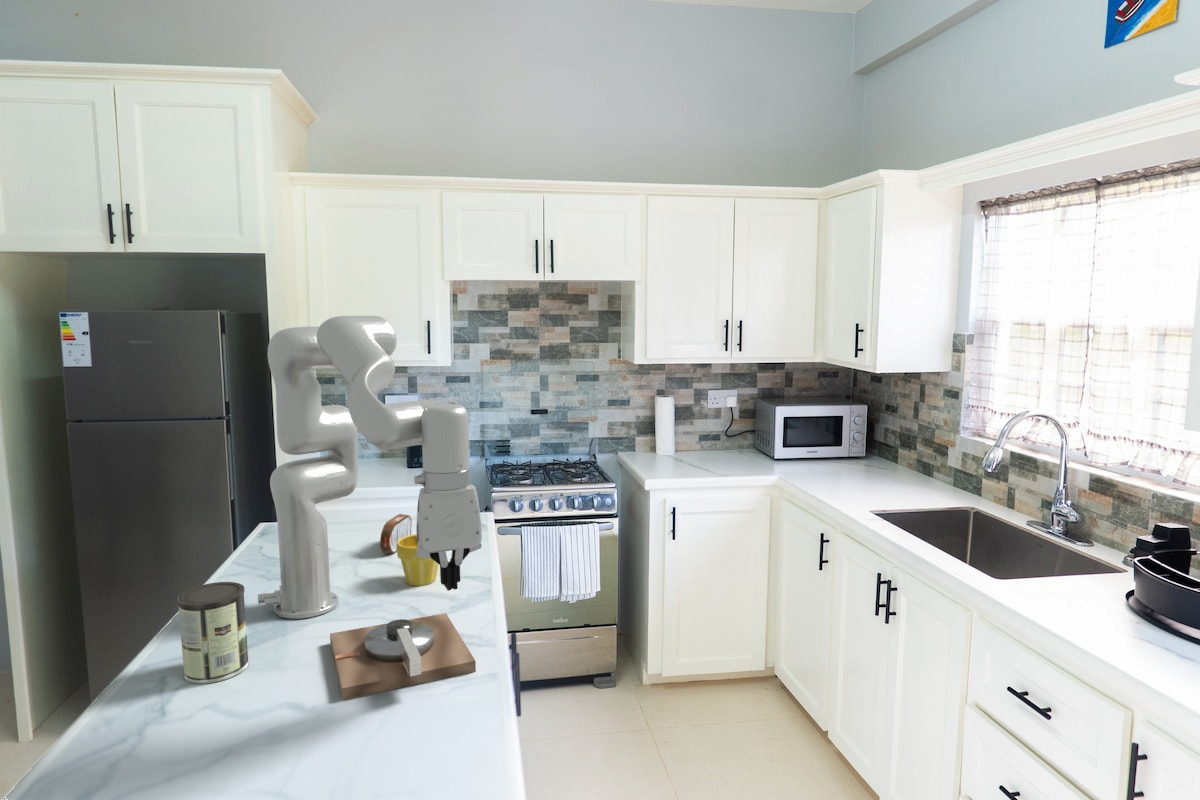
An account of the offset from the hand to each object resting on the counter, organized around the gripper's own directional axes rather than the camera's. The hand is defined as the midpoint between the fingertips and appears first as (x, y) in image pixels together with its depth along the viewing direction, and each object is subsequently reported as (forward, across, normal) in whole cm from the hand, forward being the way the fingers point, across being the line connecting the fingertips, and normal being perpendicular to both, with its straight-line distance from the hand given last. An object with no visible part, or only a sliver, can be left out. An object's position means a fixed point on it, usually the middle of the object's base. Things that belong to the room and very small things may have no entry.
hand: (450, 587), depth 121 cm
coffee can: (+16, -37, +22) cm, 46 cm away
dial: (+14, -7, +8) cm, 18 cm away
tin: (+16, +3, +75) cm, 76 cm away
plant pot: (+16, +4, +49) cm, 51 cm away
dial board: (+16, -7, +13) cm, 22 cm away
